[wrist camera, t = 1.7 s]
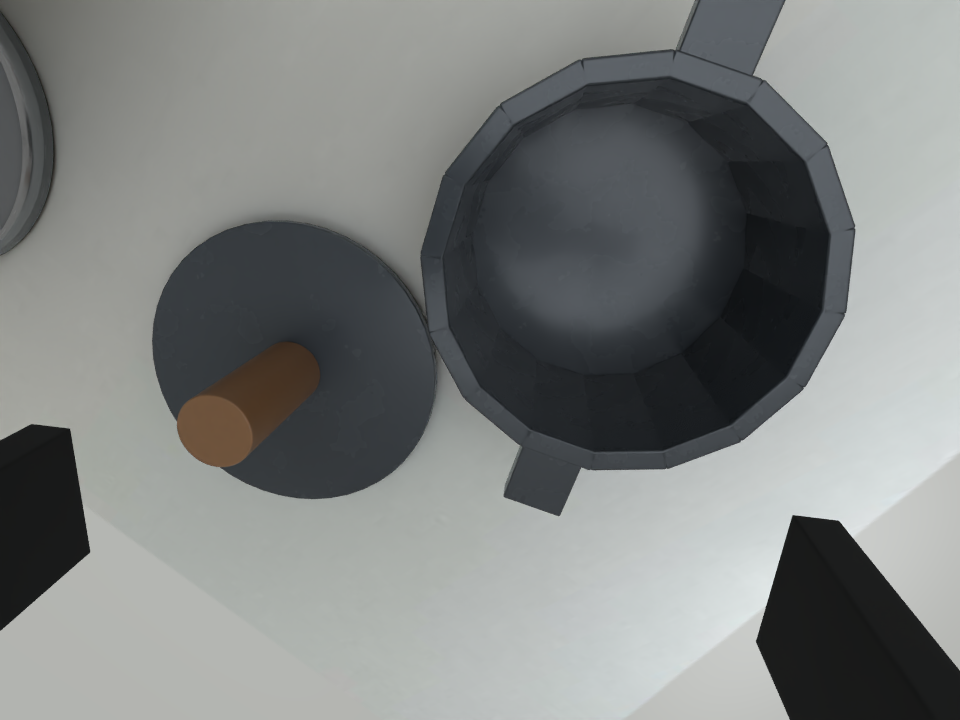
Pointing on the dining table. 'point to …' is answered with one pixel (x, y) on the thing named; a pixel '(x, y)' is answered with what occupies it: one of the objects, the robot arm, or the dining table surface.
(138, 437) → the dining table surface
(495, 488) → the dining table surface
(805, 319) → the pot
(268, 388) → the lid
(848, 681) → the robot arm
